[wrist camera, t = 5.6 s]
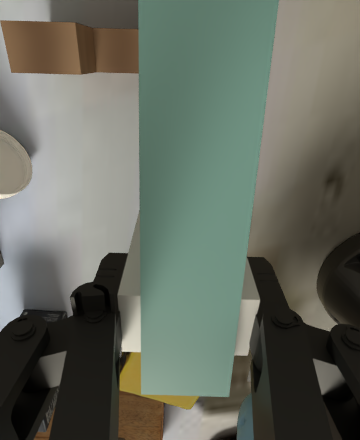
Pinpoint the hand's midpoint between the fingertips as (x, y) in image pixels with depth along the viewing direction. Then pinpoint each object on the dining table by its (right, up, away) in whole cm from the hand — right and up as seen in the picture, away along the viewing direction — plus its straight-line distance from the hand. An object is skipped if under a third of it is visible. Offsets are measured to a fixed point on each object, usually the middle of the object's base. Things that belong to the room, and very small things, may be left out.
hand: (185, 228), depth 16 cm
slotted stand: (-5, +15, +11) cm, 20 cm away
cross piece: (0, +4, 0) cm, 4 cm away
